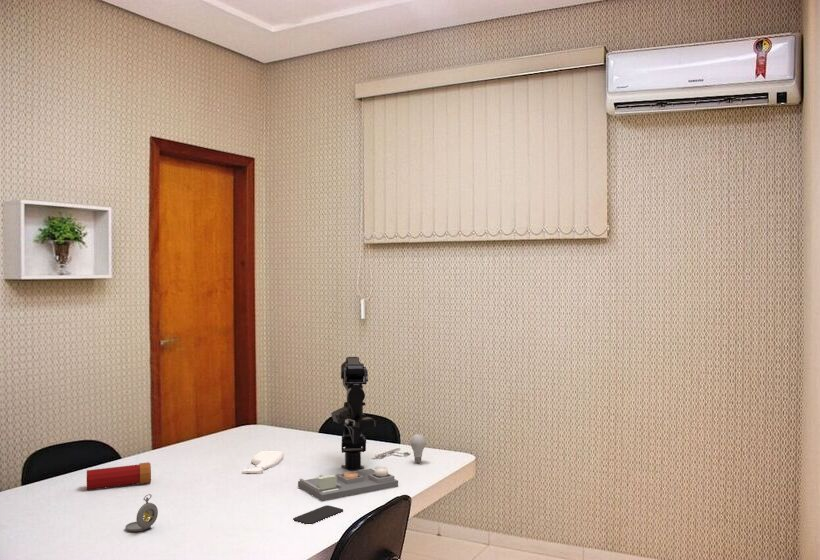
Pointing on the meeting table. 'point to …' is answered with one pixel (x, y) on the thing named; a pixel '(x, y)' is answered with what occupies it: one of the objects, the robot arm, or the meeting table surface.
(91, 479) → the red tube
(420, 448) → the lightbulb
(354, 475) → the terracotta button
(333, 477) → the pale green block
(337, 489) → the control board
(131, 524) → the pocket watch
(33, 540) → the meeting table surface
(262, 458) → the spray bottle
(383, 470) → the offwhite button
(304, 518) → the phone
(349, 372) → the robot arm
